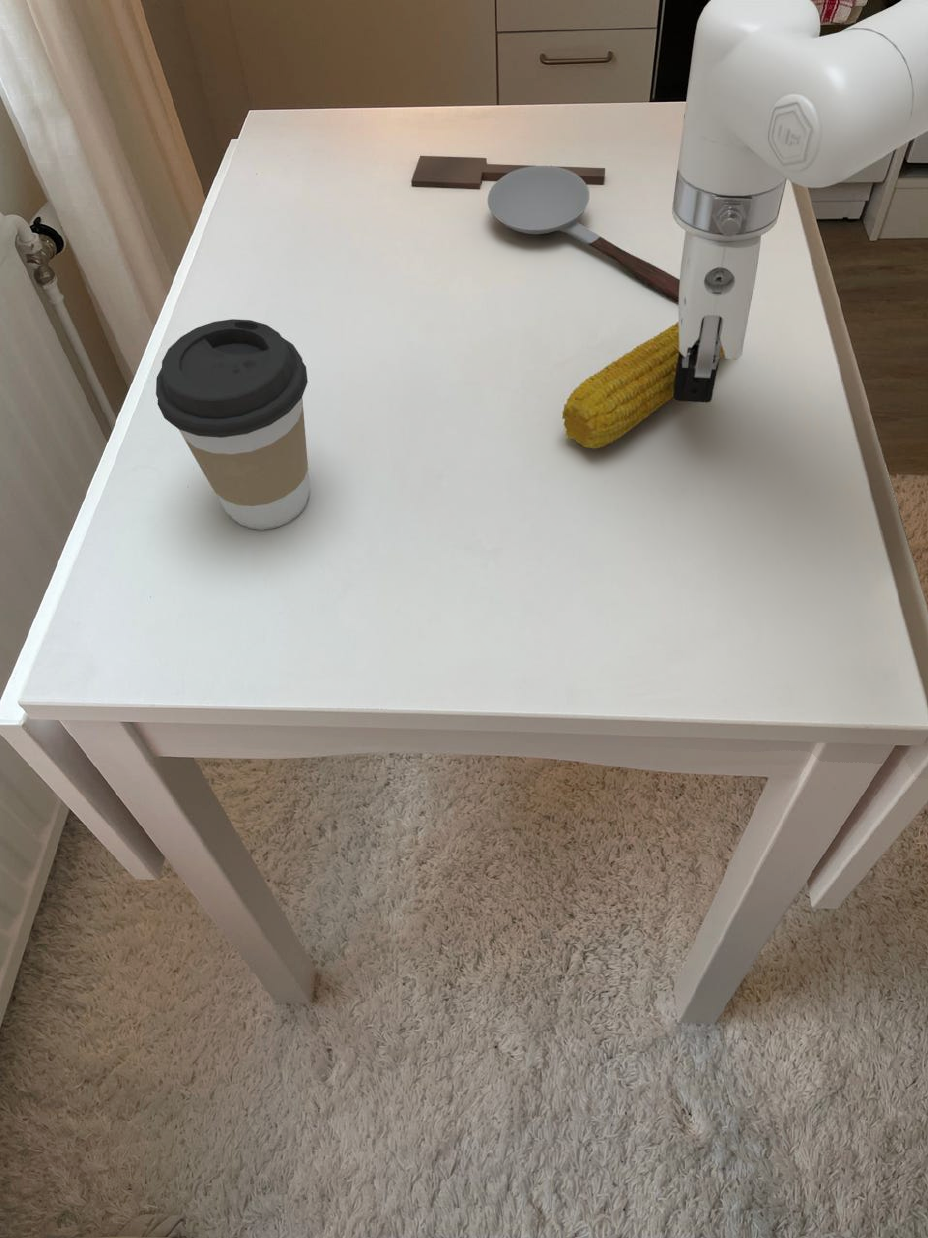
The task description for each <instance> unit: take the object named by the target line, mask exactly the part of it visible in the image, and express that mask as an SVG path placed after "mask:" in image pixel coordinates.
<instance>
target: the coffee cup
mask: <svg viewBox="0 0 928 1238" xmlns="http://www.w3.org/2000/svg"><path fill="white" fill-rule="evenodd" d="M307 371H308V370H307V366H306V364H305V363H304V361H303V357H302V355H301V354H300V353H299V351H298V350H297V348H296V347H295V345H294V344H293V343H292V342H290V341H288V340H287V339H285V337H283V336H282V335H281V333H280V332H278V331H277V330H275V329H274V328H272V327H271V326H269V325H268V324H264V323H262V322H259V321H254V320H250V319H235V318H234V319H233V318H231V319H225V320H217V321H212V322H209V323H207V324H203V325H201V326H197V327H196V328H193V329H192V330H190V331H188V332H187V333H185V334H183V335H181V336H179V338H178V339H177V340H175V342H174V343H173V344H172V345H171V346H170V347H169V348H167V351H166V352H165V355H164V357H163V359H162V361H161V368H160V370H159V372H158V374H157V376H156V377H155V378H156V381H155V384H156V385H155V396H156V398H157V406H158V408H159V410H160V412H161V414H162V416H163V418H164V419H165V420H166V421H167V422H169V423H170V424H171V425H172V426H174V427H175V428H176V429H177V430H178V431H179V433H180V435H181V437H182V438H183V439H184V441H185V444H186V445H187V447H188V448H189V450H190V453H192V456H193V457H194V460H195V461H196V462H197V464H198V466H199V468H200V470H201V471H202V473H203V474H204V476H205V478H206V480H207V482H208V483H209V485H210V487H211V488H212V490H213V492H214V493H215V495H216V497H217V499H218V500H219V502H220V504H221V506H222V508H223V509H224V511H225V513H226V514H227V515H229V516H230V517H231V519H232V520H233V521H235V523H237V524H238V525H239V526H242V527H244V528H247V529H249V530H258V531H265V530H270V529H271V530H272V529H277V528H280V527H282V526H285V525H287V524H289V523H291V522H292V521H294V520H295V519H296V518H297V517H299V516H300V515H301V513H303V511H304V509H305V508H306V507H307V504H308V501H309V493H310V490H311V487H310V475H309V462H308V450H307V449H308V448H307V438H306V425H305V413H304V412H305V411H304V399H303V396H304V394H305V391H306V388H307V385H308V383H309V382H308V372H307Z"/></svg>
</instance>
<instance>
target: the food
mask: <svg viewBox="0 0 928 1238" xmlns="http://www.w3.org/2000/svg"><path fill="white" fill-rule="evenodd" d="M678 355H679V321H677V322H676V323H675V324H673V325H671V326H669V327H668V328H666V329H665V330H663V331H660V333H659V334H656V335H654V336H653V338H650V339H648V340H647V341H645V342H643V343H641V344H639V345H636V347H635V348H633V349H632V350H631V351H629V352H626V353H625V354H623V355H622V356H620V357H618V359H616V360H615V361H612V362H611V363H610V364H608V365H607V366H605V367H603V368H602V369H601V370H599V371H598V372H597V373H594V374H593V375H590V376H589V377H588V378H587V379H585V380H584V381H582V382H581V383H579V385H578V386H577V387H575V389H574V390H572V391H573V392H571V393H570V395H569V397H568V398H567V399H566V400H567V402H566V403H565V404H564V405H563V410H562V420H564V421H563V426H564V429H565V430H566V431H565V435H566V436H567V437H568V439H570V440H575V442H576V443H577V444H579V445H581V446H582V447H583V448H587V449H600V448H603V447H606V446H608V445H610V444H612V443H613V442H616V441H617V440H619V439H621V438H622V437H623V436H624V435H625V434H626V433H628V432H630V431H631V430H632V429H633V428H634V427H636V426H637V425H638V424H639V423H641V422H642V421H643V420H644V419H646V418H648V417H649V416H650V415H651V414H653V413H654V412H655V411H657V410H658V408H660V407H661V406H663V405H664V404H666V403H668V401H670V400H671V399H673V393H674V380H675V374H676V368H677V361H678ZM723 355H724V351H723V348H722V346H721V349H720V353H719V358H718V360H719V359H720V358H721V357H722V356H723Z"/></svg>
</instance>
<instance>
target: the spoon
mask: <svg viewBox="0 0 928 1238" xmlns="http://www.w3.org/2000/svg"><path fill="white" fill-rule="evenodd" d="M530 166H531V167H526V168H522V169H518V170H515V171H513V172H511V173H508V174H507V175H505V176H503V177H502V178H501V179H499V180H498V181H496V182H494V183H493V185H492V187H490V189H489V192H488V196H487V207H488V209H489V211H490V213H491V214H492V215H493V217H494V218H495V219H496V220H497V221H498V222H499V223H501V224H502V225H504V226H505V227H507V228H508V229H511V230H512V231H513V230H514V231H517V232H519V233H523V234H527V235H528V234H529V235H543V234H549V233H553V232H556V231H557V232H562V233H565V234H567V235H569V236H571V237H573V238H575V239H576V240H578V241H580V242H581V243H584V244H586V245H587V246H588V247H591V248H593V249H595V250H596V251H598V252H599V253H601V254H603V255H604V256H605V257H608V258H610V259H611V260H613V261H614V262H615V263H617V264H618V265H620V266H621V267H622V268H623V269H625V270H626V271H628V272H629V273H630V274H632V275H633V276H635V277H637V279H639V280H641V281H642V282H643V283H645V284H647V285H649V286H650V287H652V288H654V289H655V290H657V291H658V292H661V293H662V294H663V295H665V296H667V297H669V298H671V299H673V300H674V301H676V302H679V285H680V278H677V277H675V276H674V275H672V274H670V273H669V272H667V271H665V270H664V269H661V268H659V267H658V266H656V265H654V264H652V263H649V261H648V262H647V261H646V260H644V259H642V258H639V257H638V256H635V255H633V254H631V253H629V252H628V251H626V250H624V249H622V248H620V247H619V246H617V245H615V244H614V243H612V242H610V241H609V240H607V239H605V238H604V237H602V236H600V235H599V234H598V233H596V232H594V231H592V230H590V229H589V228H587V227H586V226H585V225H583V224H582V223H580V222H579V220H578V218H579V217H580V216H581V214H583V213H584V211H585V210H586V208H587V206H588V205H589V201H590V190H589V187H588V184H586V183H585V182H584V181H583V180H582V179H581V178H580V177H579V176H578V175H576V174H575V173H573V172H571V171H569V170H566V169H563V168H559V167H560V166H559V167H554V166H555V165H530Z"/></svg>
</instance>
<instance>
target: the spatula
mask: <svg viewBox="0 0 928 1238" xmlns="http://www.w3.org/2000/svg"><path fill="white" fill-rule="evenodd" d="M487 161H488V159H487V157H472V156H469V157H468V156H439V155H420V156H419V158H418V160H417V163H416V167H415V169H414V172H413V175H412V178H411V187H419V188H420V187H424V188H450V189H473V190H474V189H475V190H480V189H481V187H482V183H483V181H496V182H497V181H498V180H499V179H501V178H502V177H503V176H505V175H507V174H508V173H511V172H513V171H515V170H518V169H522V168H526V167H531V166H532V165H530V164H529V165H527V164H526V165H525V164H503V163H502V164H498V163H488V162H487ZM553 166H554V167H559V168H563V169H566V170H569V171H571V172H573V173H575V174H576V175H578V176H579V177H580V178H581V179H582V180H583V181H584V182H585V183H586V185H605V179H606V168H605V167H589V166H588V167H586V166H585V167H584V166H555V165H553Z"/></svg>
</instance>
